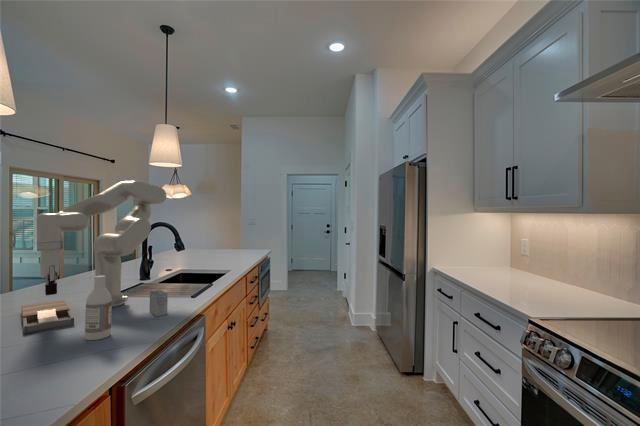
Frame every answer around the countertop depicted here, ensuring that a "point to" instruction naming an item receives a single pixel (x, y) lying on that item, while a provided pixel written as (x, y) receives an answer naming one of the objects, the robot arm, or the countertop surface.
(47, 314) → the terracotta tile
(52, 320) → the cream tile
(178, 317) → the countertop surface
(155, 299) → the medicine box
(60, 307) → the walnut board
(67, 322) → the tray
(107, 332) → the bath foam
